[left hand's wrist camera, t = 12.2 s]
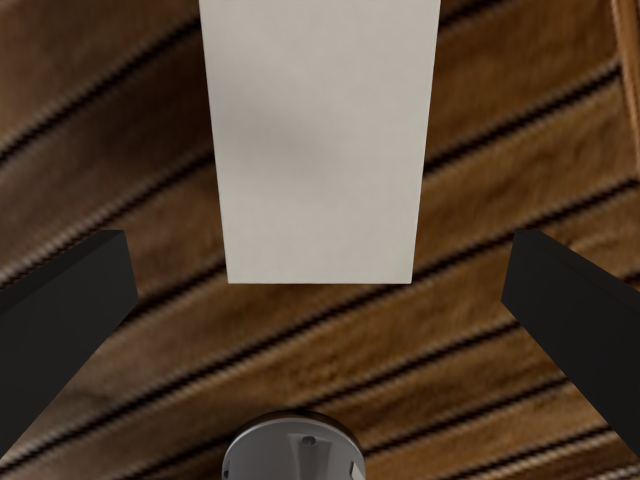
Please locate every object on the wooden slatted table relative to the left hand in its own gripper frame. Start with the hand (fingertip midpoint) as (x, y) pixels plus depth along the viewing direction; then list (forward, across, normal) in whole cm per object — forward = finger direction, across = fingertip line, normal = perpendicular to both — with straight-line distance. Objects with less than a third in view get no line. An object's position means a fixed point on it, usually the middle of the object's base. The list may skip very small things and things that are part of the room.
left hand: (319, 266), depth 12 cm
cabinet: (+17, 0, -6) cm, 18 cm away
